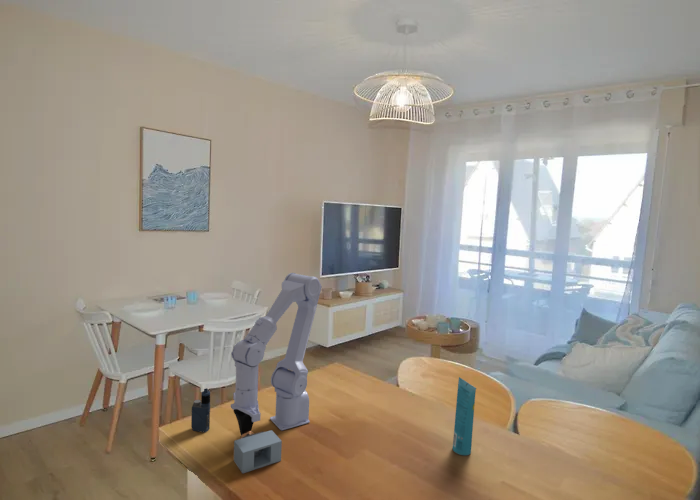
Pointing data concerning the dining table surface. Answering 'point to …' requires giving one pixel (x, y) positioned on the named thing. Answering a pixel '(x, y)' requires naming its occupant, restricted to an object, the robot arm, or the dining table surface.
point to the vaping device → (201, 413)
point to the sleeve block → (253, 443)
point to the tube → (464, 418)
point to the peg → (251, 434)
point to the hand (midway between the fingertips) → (245, 435)
